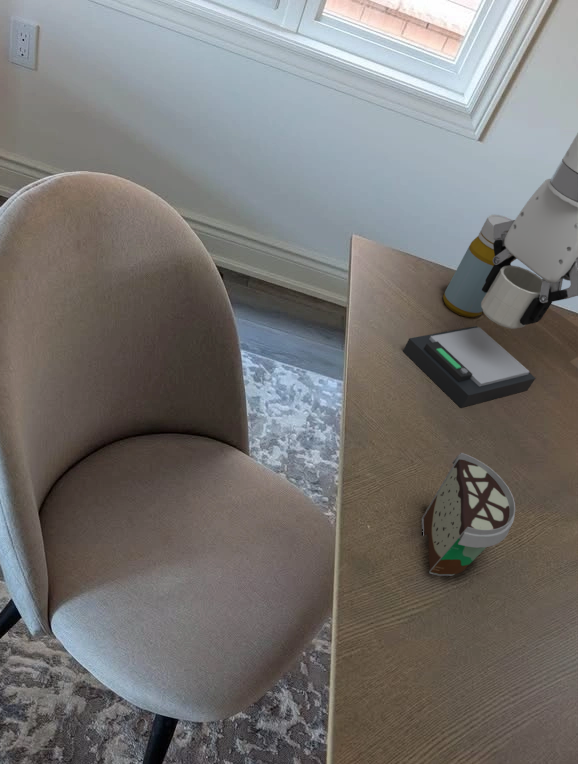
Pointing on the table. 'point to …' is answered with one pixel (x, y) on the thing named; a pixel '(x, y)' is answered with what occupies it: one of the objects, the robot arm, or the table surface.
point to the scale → (468, 365)
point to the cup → (511, 296)
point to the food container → (466, 515)
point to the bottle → (473, 272)
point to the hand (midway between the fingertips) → (508, 305)
